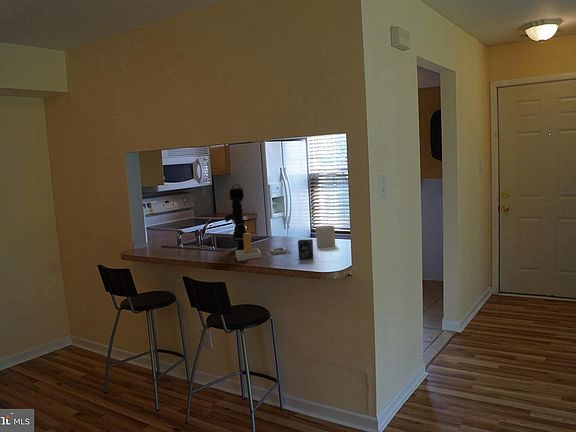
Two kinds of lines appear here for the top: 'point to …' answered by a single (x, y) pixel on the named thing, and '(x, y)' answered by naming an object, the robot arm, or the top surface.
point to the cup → (325, 236)
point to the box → (305, 249)
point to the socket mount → (278, 251)
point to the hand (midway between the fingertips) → (239, 233)
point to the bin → (247, 255)
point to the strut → (247, 243)
